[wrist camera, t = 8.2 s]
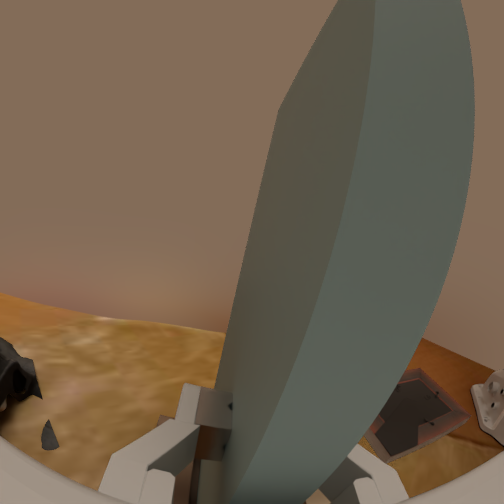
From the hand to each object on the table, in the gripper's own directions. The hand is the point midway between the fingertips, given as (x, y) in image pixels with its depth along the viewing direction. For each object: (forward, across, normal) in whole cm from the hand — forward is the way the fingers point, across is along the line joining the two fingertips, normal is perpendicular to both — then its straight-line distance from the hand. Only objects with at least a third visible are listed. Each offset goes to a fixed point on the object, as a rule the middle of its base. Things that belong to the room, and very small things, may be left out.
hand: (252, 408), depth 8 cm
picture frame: (+18, -30, +20) cm, 40 cm away
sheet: (+2, 0, +13) cm, 13 cm away
